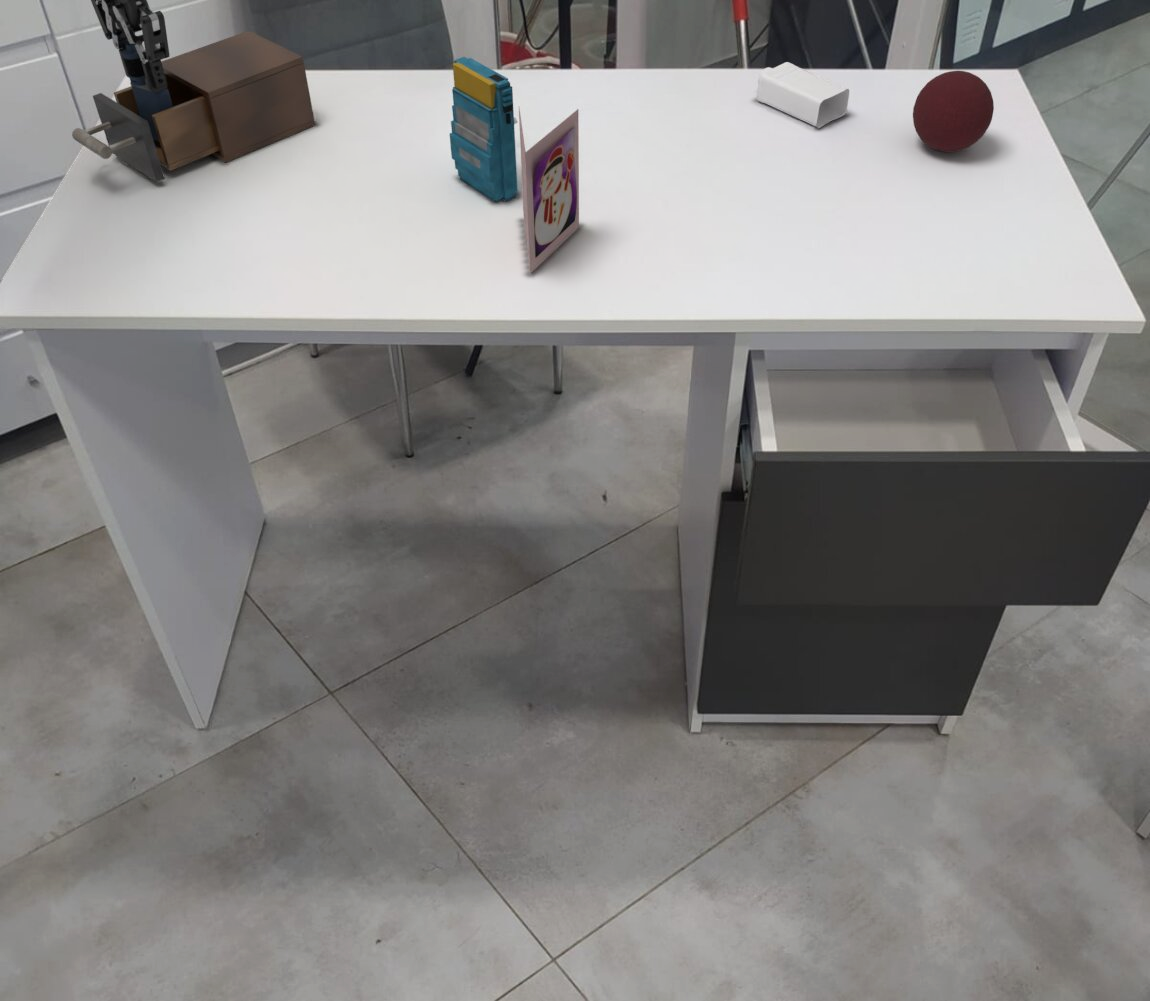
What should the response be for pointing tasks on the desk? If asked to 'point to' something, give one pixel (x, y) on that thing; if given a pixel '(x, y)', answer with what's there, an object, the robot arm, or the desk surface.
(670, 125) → the desk surface
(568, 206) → the greeting card
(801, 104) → the white rectangular box
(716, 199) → the desk surface
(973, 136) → the decorative ball
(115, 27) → the robot arm
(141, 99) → the vaping device
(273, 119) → the cabinet
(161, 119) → the drawer
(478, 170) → the teal upright block
